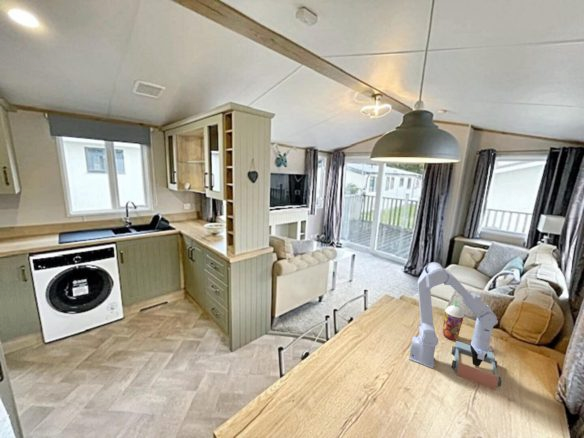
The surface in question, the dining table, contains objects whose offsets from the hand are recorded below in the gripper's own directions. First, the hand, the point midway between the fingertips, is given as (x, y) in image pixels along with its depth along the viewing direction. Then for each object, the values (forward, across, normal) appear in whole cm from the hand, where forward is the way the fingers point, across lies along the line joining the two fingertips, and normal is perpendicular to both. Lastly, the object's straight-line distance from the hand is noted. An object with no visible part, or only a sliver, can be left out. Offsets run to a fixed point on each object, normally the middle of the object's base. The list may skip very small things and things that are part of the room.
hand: (475, 364), depth 108 cm
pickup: (+3, +3, 0) cm, 4 cm away
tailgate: (+3, -7, 0) cm, 8 cm away
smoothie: (+4, +22, +9) cm, 24 cm away
